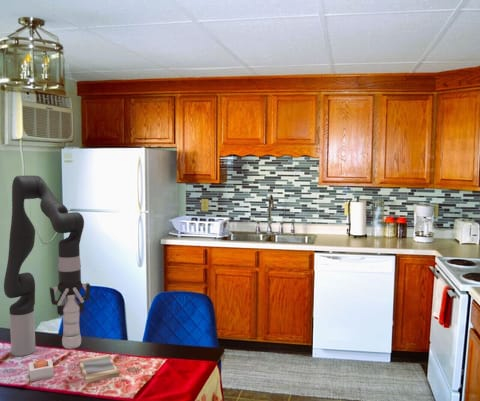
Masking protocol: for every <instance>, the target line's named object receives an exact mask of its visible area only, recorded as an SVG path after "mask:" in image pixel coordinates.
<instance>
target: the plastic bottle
mask: <svg viewBox="0 0 480 401" xmlns="http://www.w3.org/2000/svg"><path fill="white" fill-rule="evenodd" d="M76 299H77V295H75V294H74V295H67V297H65V298H64V300H65V301H63V302H62V304H61V305H62V316H61V317H62V325H63V327H62V328H63V331H62V337H61V338H62V339H61V344H62V346H63V347H64V348H65V349H69V350H71V349H72V350H73V349H76V348H79V347H80V345H81V344H82V335H81V331H80V330H81V329H80V315H81V313H80V305H79V301H78V300H76Z"/></svg>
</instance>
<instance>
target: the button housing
mask: <svg viewBox="0 0 480 401" xmlns="http://www.w3.org/2000/svg"><path fill="white" fill-rule="evenodd" d="M45 360H46V361H47V366H46V367H41V368H35V362H36V361H37V360H35V361H30V362H28V375H29V382H30V383H31V382H36V381H37V382H38V381H41V380H47V379H51V378H54V376H55V375H54V373H55V372H54V371H55V370H54V365H53V360H52V358H46V359H45Z"/></svg>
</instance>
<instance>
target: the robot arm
mask: <svg viewBox="0 0 480 401" xmlns="http://www.w3.org/2000/svg"><path fill="white" fill-rule="evenodd" d="M32 199H33V200H35V199H40V205H39V206H40V210H41V212H42V213H43V214H44V215H45V216H46V217H47V218H48V219H49V220H50V221H49V222H50V223H51V226H52V229H53V231H54V232H55V233H57V234H67V233H69V235H68V236H67V237H66V238H63V239H61V240H60V241H59V242H58V262H57V264H58V267H57V270H58V271H57V272H58V285H57V286H50V287H49V295H50V301H51V305H52V306H56V312H57V315H59V316H61V317H62V305H63V303H64V300H65V297H67V295H74V294H75V295H76V298H77V299H78V300H79V301H78V303H79V305H80V314H82V313H83V312H84V311H85V302H87V301H89V300H90V295H91V294H90V293H91V284H90V283H89V282H86V283H83V282H82V271H81V270H82V263H81V257H80V256H81V255H80V242H81V238H82V234H83V231H84V227H85V220H84V217H83V215H82V213H80V212H77V211H73V212H69V210H68V208H67V207H66V206H65V205H64V204H63V203H62V202H61V201H60V200H59V198H57V197H56V196H55V195H54V193H53V192H52V191H51V189H50V187H49V186H48V184H47V183H46V182H45V180H44V179H43V178H42V177H41V176H39V175H16V176H14V178H13V180H12V184H11V222H10V231H9V240H8V241H9V242H8V254H7V255H8V256H7V264H6V269H5V275H4V281H3V290H4V295H5V296H6V297H7V298H8V299H16V298H19V299H17V301H15V302H14V303H13V304H11V305H10V306H9V330H10V350H11V351H10V352H11V353H10V354H11V355H12V356H15V357H23V356H27V355H31V354H33V353H34V352H35V351H36V332H35V330H36V329H35V324H36V323H35V304H36V281H35V278H34V277H35V276H34V275H33V274H32V273H30V272H23V273H20V271H21V268H22V265H24V264H23V263H24V262H25V261H26V260H27V258H28V257H29V255H30V254H31V252H32V251H33V249H34V246H35V241H36V240H35V239H36V229H35V226H34V224H33V222H32V221H31V219H30V218H29V216H28V214H27V213H26V210H25V200H32ZM82 288H83V289H84V296H83V295H81V293H80V291H81V289H82ZM57 291H59V292H60V293H59V297H58V299H57V300H56V298H55V297H56V295H55V294H56V293H57ZM82 296H83V297H82Z"/></svg>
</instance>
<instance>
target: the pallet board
mask: <svg viewBox="0 0 480 401" xmlns="http://www.w3.org/2000/svg"><path fill="white" fill-rule="evenodd" d="M78 365H79V368H80V371H81V374H82V376H83V378H84V381H85V383H86V384H87V383H89V384H90V383H92V382H93V383H94V382H97V381H102V380H106V379H107V380H108V379H112V377H113V378H117V376H118V377H120V371H119V369H118V368H117V366H116V364H115V362H114V360H113V358H112V357H111V354H104V355H98V356H93V357H86V358H82V359H78Z"/></svg>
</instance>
